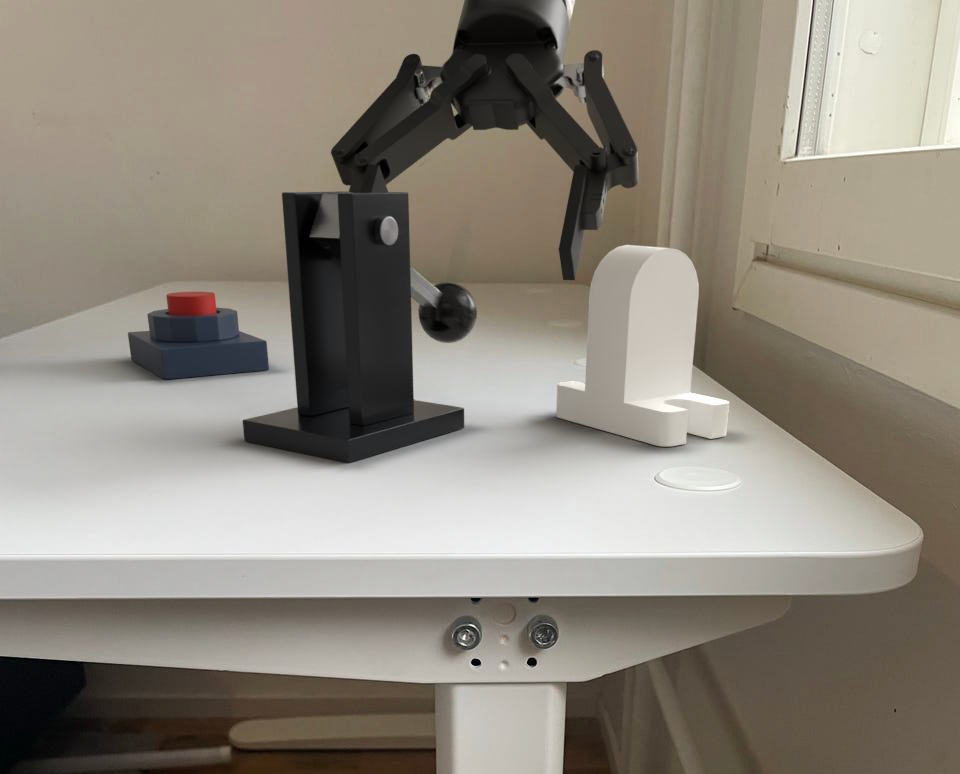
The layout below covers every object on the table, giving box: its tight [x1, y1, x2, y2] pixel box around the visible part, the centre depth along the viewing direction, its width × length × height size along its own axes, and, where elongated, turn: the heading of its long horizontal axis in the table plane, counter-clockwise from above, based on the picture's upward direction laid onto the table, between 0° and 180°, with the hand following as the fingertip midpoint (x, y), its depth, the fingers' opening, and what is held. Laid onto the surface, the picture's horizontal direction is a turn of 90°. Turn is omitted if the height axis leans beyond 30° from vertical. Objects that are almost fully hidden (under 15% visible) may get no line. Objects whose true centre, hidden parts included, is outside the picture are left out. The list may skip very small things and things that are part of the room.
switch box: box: [127, 307, 270, 381], centre depth 79 cm, size 10×8×4 cm
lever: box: [309, 194, 478, 344], centre depth 59 cm, size 13×4×4 cm
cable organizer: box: [555, 244, 730, 447], centre depth 59 cm, size 5×10×10 cm, turn 35°
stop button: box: [165, 291, 217, 316], centre depth 78 cm, size 4×4×2 cm
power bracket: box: [242, 190, 465, 463], centre depth 56 cm, size 10×8×13 cm
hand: (459, 262), depth 64 cm, fingers open, 13 cm apart
